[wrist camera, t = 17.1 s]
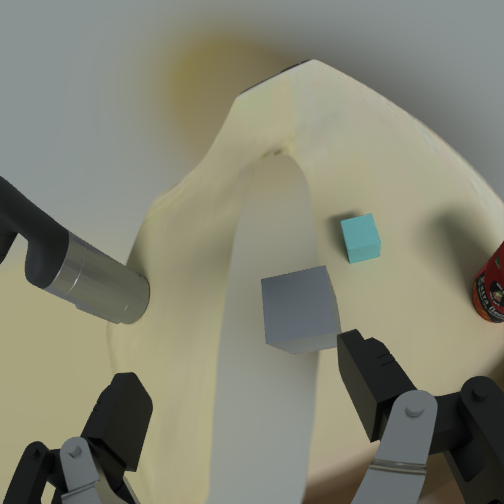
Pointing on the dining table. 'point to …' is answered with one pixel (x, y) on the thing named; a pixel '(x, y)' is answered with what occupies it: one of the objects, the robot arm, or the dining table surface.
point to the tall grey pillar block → (301, 311)
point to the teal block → (361, 238)
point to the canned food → (491, 288)
